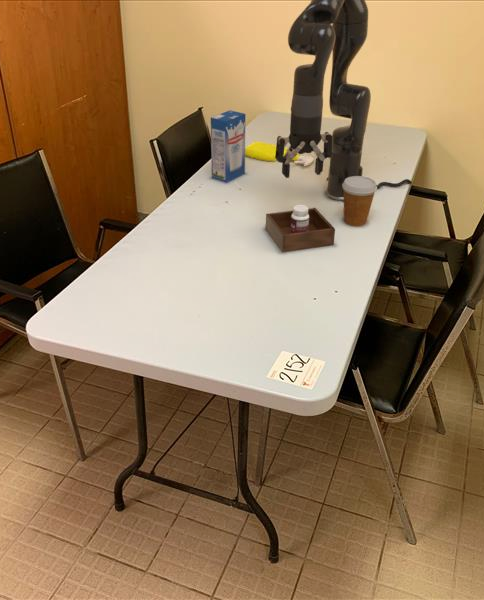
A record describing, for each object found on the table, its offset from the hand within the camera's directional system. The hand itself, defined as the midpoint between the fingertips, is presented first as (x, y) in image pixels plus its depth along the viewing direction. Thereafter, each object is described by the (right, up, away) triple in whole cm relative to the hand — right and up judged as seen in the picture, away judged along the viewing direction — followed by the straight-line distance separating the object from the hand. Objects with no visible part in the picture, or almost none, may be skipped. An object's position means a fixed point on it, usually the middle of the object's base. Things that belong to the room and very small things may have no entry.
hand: (302, 175), depth 153 cm
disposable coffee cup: (+17, -10, +18) cm, 27 cm away
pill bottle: (0, -15, +10) cm, 18 cm away
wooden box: (0, -15, +10) cm, 18 cm away
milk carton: (-20, +9, +46) cm, 51 cm away
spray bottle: (-2, +18, +59) cm, 62 cm away
